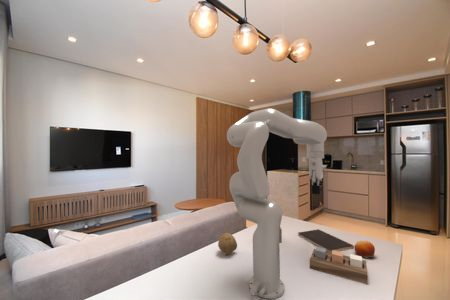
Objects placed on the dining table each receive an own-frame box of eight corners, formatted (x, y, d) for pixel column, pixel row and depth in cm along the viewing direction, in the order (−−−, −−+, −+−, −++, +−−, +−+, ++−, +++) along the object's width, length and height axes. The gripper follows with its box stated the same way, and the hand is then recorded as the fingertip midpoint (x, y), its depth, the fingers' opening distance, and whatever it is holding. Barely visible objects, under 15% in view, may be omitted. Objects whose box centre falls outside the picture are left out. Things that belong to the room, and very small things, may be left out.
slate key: (325, 259, 85) (325, 252, 85) (314, 257, 87) (314, 250, 87) (326, 255, 89) (326, 248, 89) (316, 253, 91) (316, 246, 91)
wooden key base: (367, 284, 74) (367, 274, 74) (309, 268, 85) (309, 259, 85) (366, 268, 84) (366, 260, 84) (314, 256, 95) (314, 248, 95)
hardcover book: (329, 254, 97) (329, 249, 97) (297, 236, 119) (297, 232, 119) (353, 249, 102) (353, 244, 102) (319, 232, 124) (319, 229, 124)
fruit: (370, 259, 88) (361, 240, 92) (356, 261, 95) (348, 243, 99) (383, 257, 90) (374, 238, 95) (369, 259, 97) (361, 241, 101)
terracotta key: (342, 264, 82) (342, 256, 82) (331, 261, 84) (331, 253, 84) (343, 259, 85) (343, 252, 85) (332, 257, 87) (332, 250, 87)
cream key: (362, 268, 78) (362, 260, 78) (350, 265, 80) (350, 258, 80) (361, 264, 82) (361, 256, 82) (350, 261, 84) (350, 253, 84)
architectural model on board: (278, 241, 112) (278, 223, 112) (281, 243, 109) (281, 225, 110) (260, 244, 108) (260, 226, 108) (263, 247, 105) (263, 228, 106)
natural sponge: (213, 253, 98) (213, 233, 98) (227, 247, 104) (227, 228, 104) (226, 261, 91) (226, 238, 91) (240, 254, 97) (240, 233, 97)
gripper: (321, 155, 88) (322, 197, 87) (325, 155, 100) (326, 192, 100) (303, 155, 92) (304, 195, 91) (309, 155, 104) (310, 190, 104)
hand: (315, 193), depth 96 cm, fingers closed
